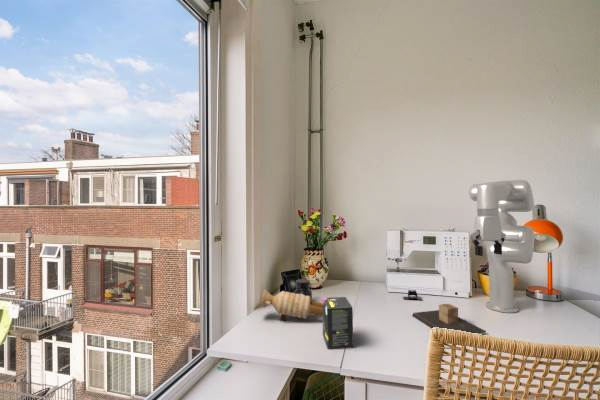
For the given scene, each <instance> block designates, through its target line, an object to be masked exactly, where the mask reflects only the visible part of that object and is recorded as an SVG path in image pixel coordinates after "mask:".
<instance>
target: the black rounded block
mask: <svg viewBox="0 0 600 400" xmlns="http://www.w3.org/2000/svg"><path fill="white" fill-rule="evenodd" d="M406 294H407V296H402V299H403V300H404V301H417V302H424V300H423V298H422V297H421V296H418V293H417V290H416V289H415V290H414V289H413V290H411V289H408V291H407V293H406Z"/></svg>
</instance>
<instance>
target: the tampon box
mask: <svg viewBox="0 0 600 400" xmlns="http://www.w3.org/2000/svg"><path fill="white" fill-rule="evenodd" d="M322 303H323V316H322V337H323V340H324V342H325V343H324V344H325V346H326V348H327V350H330V349H351V348H352V349H354V327H353V326H354V324H353V323H354V322H353V321H354V316H353V315H354V314H353V313H354V312H353V311H354V310H353V306H352V304H351V302H350V301H349V300H348V298H347V297H346V296H337V297H334V296H333V297H322Z"/></svg>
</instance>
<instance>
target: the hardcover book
mask: <svg viewBox="0 0 600 400" xmlns="http://www.w3.org/2000/svg"><path fill="white" fill-rule="evenodd" d="M412 317H413V318H415V319H417V320H418V321H419V322H421V323H423V325H426V326H427V327H428V328H430V329H432V328H433V327H439V328H447V329H454V330H461V331H466V332H471V333H478V334H484V335H483V336H485V334H486V333H487V331H486V330H484V329H483V328H480V327H479V326H477V325H475V324H473V323H471V322H469V321H467V320H466V319H463V318H461V317H460V316H458V323H452V324H447V323H445V322H443V321H441V320H440V319H439V309H437V310H428V311H418V312H413V313H412Z"/></svg>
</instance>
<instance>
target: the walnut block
mask: <svg viewBox="0 0 600 400" xmlns="http://www.w3.org/2000/svg"><path fill="white" fill-rule="evenodd" d="M438 310H439V319H440V320H441V321H443V322H445V323H447V324H452V323H458V317H459V307H457V306H456V305H453V304H451V303H443V304H438Z"/></svg>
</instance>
